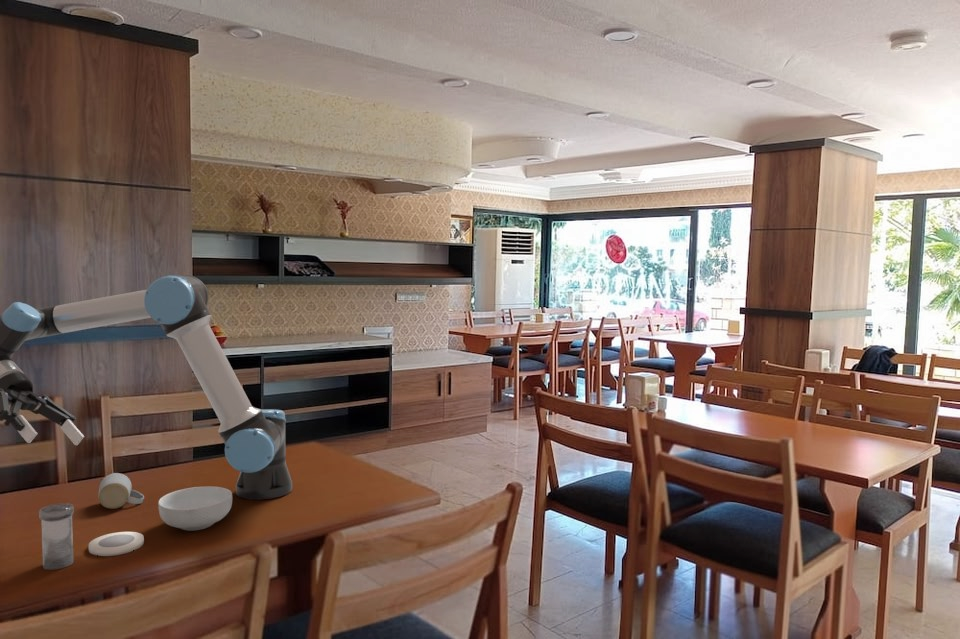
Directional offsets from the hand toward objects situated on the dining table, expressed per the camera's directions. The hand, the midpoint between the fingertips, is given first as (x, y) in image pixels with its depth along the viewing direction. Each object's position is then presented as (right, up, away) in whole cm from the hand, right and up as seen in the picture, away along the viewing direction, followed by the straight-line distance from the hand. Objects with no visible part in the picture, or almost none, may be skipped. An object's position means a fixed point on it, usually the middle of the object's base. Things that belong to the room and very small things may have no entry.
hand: (57, 439), depth 165 cm
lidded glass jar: (+10, -23, -16) cm, 30 cm away
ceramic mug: (+4, -21, +21) cm, 30 cm away
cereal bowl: (+30, -22, +7) cm, 38 cm away
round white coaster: (+17, -23, -6) cm, 29 cm away
